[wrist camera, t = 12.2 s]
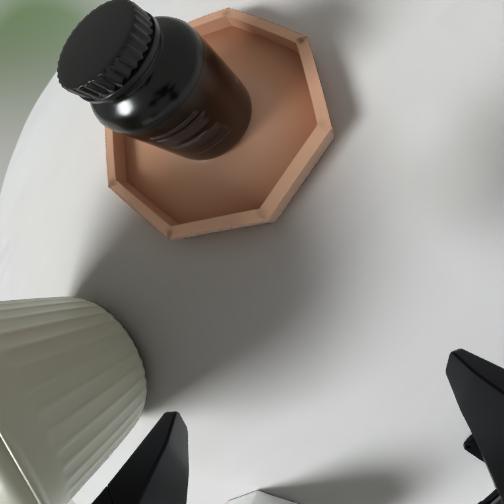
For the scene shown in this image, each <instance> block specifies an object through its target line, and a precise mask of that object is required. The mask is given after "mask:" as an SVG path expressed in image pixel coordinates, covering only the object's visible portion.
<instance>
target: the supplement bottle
mask: <svg viewBox="0 0 504 504" xmlns="http://www.w3.org/2000/svg"><path fill="white" fill-rule="evenodd" d="M57 72H58V76H57V77H58V78H59V83H60V84H61V85H62V87H63V88H64V89H66V90H67V91H69V92H71V93H74V94H76V95H79V96H80V97H81V98H82V99H84V100H86V101H88V102H90V104H91V107H92V110H93V112H94V114H95V116H96V117H97V119H98V120H99V121H100V122H101V123H102V124H103V125H104V126H105V127H107V128H109V129H110V130H113V131H115V132H117V133H120V134H123V135H125V136H128V137H131V138H134V139H136V140H139V141H142V142H144V143H147V144H150V145H152V146H155V147H158V148H160V149H163V150H166V151H168V152H171V153H173V154H176V155H178V156H181V157H184V158H187V159H191V160H199V161H201V160H209V159H214V158H216V157H219V156H221V155H223V154H225V153H227V152H228V151H229V150H231V149H232V148H233V147H234V146H235V145H236V144H237V143H238V142H239V141H240V140H241V139H242V137H243V136H244V134H245V133H246V131H247V129H248V126H249V124H250V120H251V115H252V103H251V98H250V95H249V93H248V91H247V89H246V87H245V86H244V85H243V83H242V82H241V81H240V79H239V78H238V77H237V76H236V75H235V73H234V72H233V71H232V70H231V69H230V68H229V67H228V65H227V64H226V63H225V62H224V61H223V60H222V59H221V57H220V56H219V55H218V54H217V53H216V52H215V51H214V50H213V48H212V47H211V46H210V45H209V44H208V43H207V42H206V41H205V40H204V39H203V38H202V36H201V35H200V34H199V33H198V32H197V31H196V30H195V29H194V28H193V27H191V26H190V25H189V24H188V23H186V22H185V21H182V20H180V19H177V18H174V17H167V16H157V17H153V16H152V15H151V14H149V13H148V12H146V11H144V10H143V9H141V8H140V7H139V6H138V5H136V4H135V3H134V2H132V1H130V0H112V1H108V2H106V3H105V4H103V5H100V6H99V7H97V8H96V9H94V10H93V11H92V12H91V13H90V14H89V15H87V16H86V17H85V18H84V19H83V20H82V21H81V22H80V23H79V24H78V25H77V27H76V28H75V29H74V30H73V32H72V33H71V35H70V36H69V38H68V39H67V41H66V43H65V45H64V47H63V50H62V52H61V54H60V59H59V61H58V68H57Z"/></svg>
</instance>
